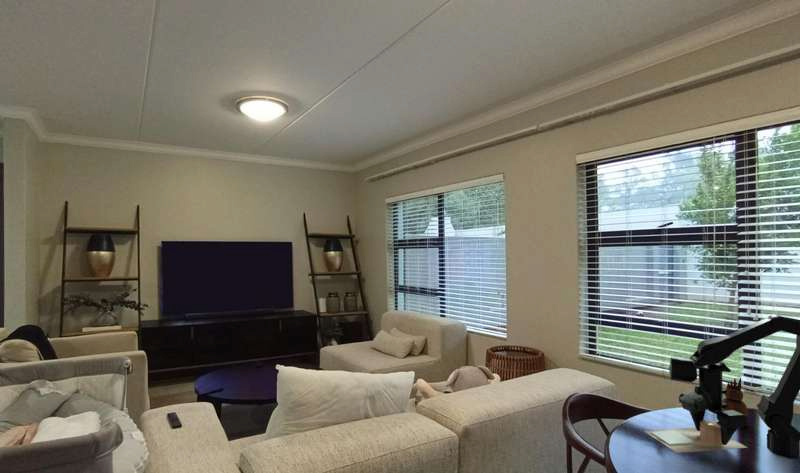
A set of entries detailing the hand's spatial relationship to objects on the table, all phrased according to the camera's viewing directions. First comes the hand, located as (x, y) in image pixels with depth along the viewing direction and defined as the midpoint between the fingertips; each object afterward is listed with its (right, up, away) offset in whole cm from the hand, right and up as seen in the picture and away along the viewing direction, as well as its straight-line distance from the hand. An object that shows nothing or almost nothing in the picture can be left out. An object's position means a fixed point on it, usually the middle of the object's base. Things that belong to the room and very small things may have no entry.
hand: (711, 437), depth 130 cm
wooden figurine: (+18, -2, +15) cm, 24 cm away
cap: (0, -1, 0) cm, 1 cm away
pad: (-10, -1, +2) cm, 10 cm away
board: (-4, -2, +2) cm, 5 cm away
